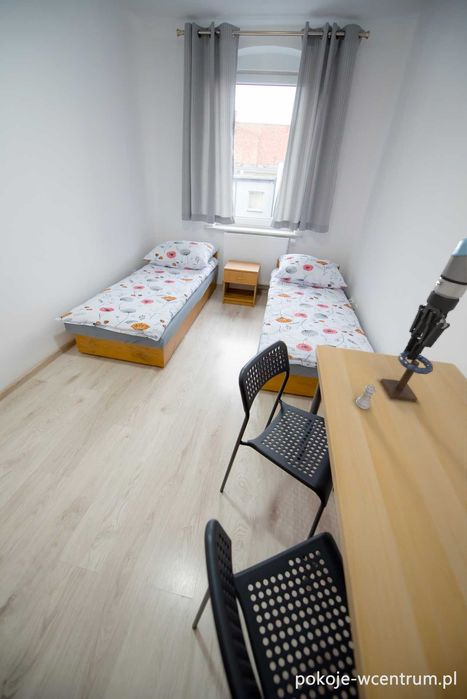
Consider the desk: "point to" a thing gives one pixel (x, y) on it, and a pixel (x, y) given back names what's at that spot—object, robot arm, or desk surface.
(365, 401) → the rook chess piece
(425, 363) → the ring
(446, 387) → the desk surface
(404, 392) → the stand
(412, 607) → the desk surface
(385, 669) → the desk surface
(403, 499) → the desk surface
